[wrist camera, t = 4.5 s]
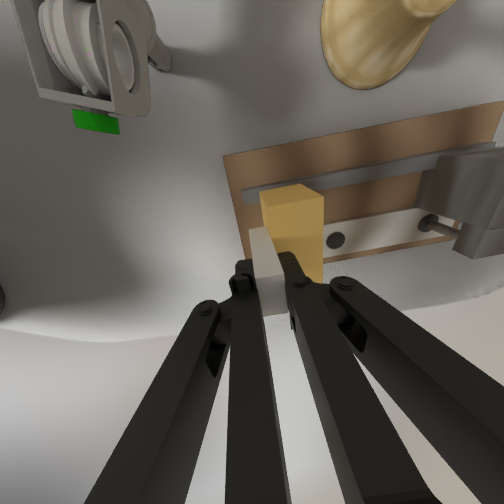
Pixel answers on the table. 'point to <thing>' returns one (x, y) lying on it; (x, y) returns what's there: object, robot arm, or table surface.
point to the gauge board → (388, 184)
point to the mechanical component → (93, 56)
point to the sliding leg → (296, 225)
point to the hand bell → (374, 37)
